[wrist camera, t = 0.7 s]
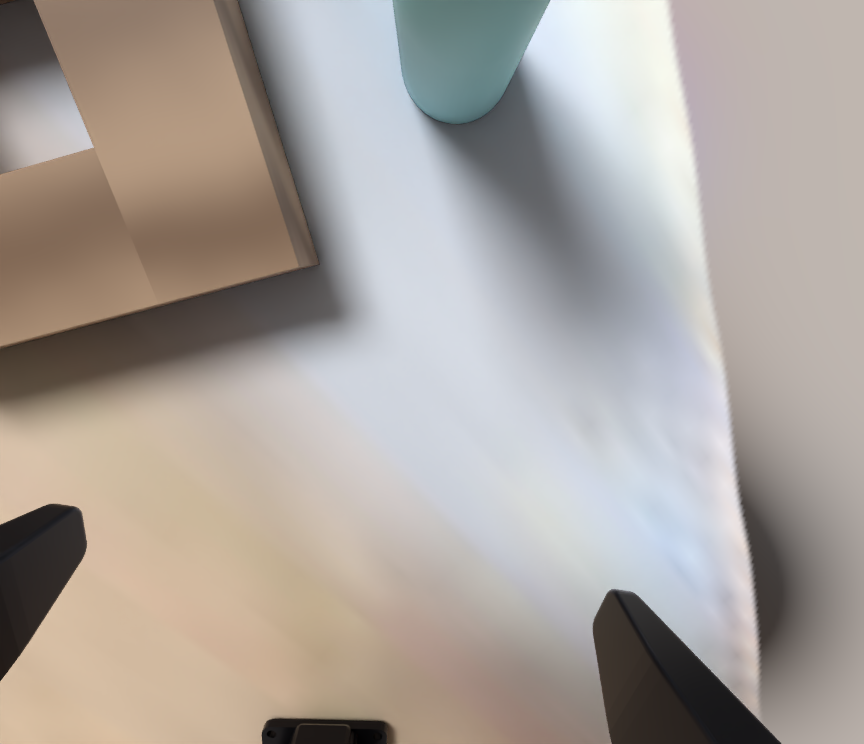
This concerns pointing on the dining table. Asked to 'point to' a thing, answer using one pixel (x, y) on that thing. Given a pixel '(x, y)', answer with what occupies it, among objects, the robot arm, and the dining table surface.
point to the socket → (149, 172)
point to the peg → (462, 52)
